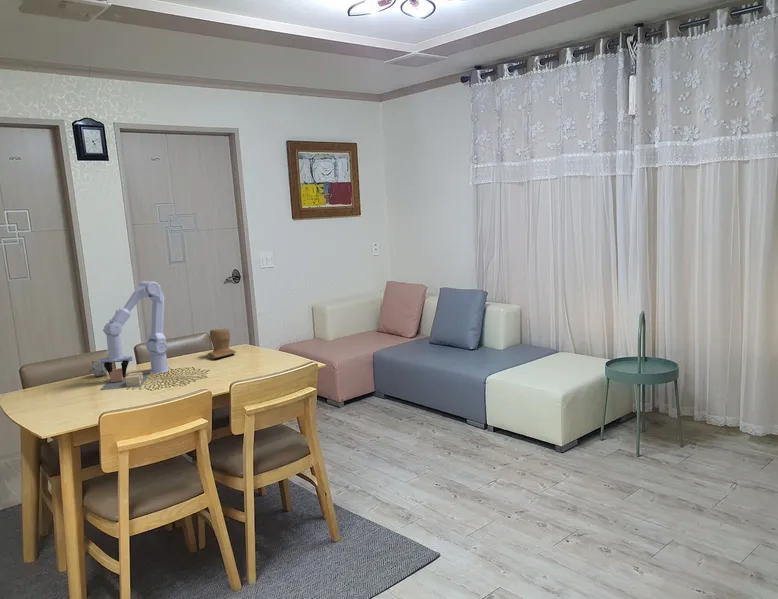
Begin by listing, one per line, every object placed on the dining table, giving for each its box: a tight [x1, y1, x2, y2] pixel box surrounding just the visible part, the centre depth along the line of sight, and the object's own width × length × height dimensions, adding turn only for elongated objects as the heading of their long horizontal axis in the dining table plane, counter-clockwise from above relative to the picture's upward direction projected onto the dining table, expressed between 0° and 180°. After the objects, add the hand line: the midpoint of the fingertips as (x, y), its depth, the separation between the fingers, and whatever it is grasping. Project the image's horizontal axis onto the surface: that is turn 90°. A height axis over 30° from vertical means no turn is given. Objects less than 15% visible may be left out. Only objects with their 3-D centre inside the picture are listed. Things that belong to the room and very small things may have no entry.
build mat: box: [98, 373, 151, 391], centre depth 277 cm, size 22×17×1 cm
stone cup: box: [207, 327, 237, 360], centre depth 320 cm, size 15×12×15 cm
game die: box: [88, 361, 108, 378], centre depth 290 cm, size 9×8×10 cm
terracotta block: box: [109, 367, 125, 382], centre depth 279 cm, size 7×5×4 cm
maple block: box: [126, 372, 144, 386], centre depth 272 cm, size 7×6×4 cm
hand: (118, 377), depth 280 cm, fingers closed on terracotta block, 5 cm apart
